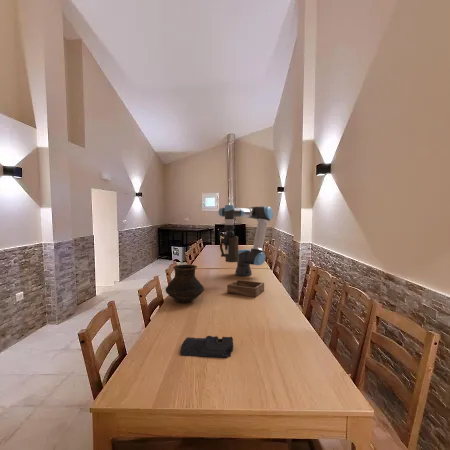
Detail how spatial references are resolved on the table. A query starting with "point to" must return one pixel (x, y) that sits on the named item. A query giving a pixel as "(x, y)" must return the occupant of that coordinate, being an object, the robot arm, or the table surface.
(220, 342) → the dark grey flat piece
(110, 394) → the table surface
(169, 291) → the ceramic pot
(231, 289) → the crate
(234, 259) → the beer stein
